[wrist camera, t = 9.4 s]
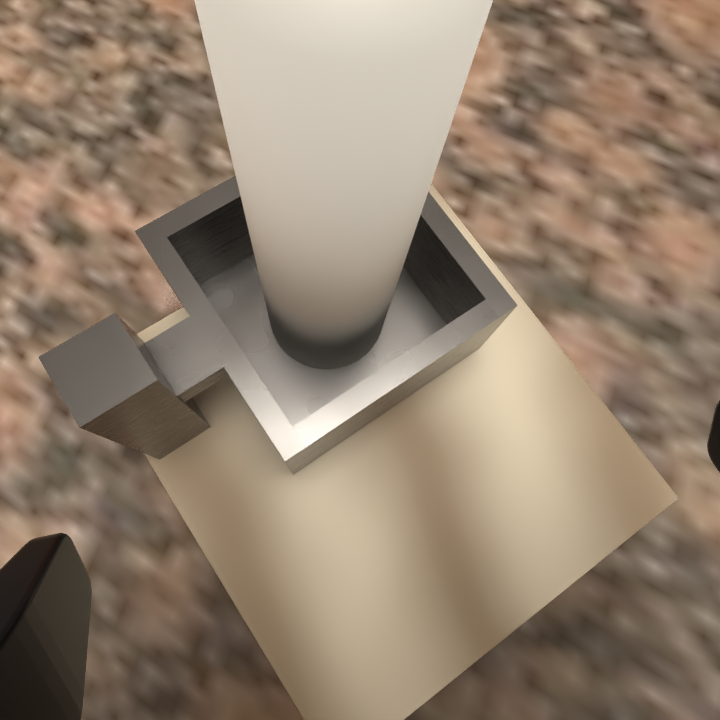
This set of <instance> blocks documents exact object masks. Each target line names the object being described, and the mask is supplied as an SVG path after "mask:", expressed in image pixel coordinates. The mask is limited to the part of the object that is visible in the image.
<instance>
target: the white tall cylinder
mask: <svg viewBox="0 0 720 720" xmlns="http://www.w3.org/2000/svg"><path fill="white" fill-rule="evenodd" d="M492 2H493V0H195V4H196V9H197V13H198V17H199V21H200V26H201V30H202V34H203V39H204V43H205V47H206V51H207V56H208V60H209V64H210V68H211V73H212V77H213V81H214V85H215V90H216V94H217V98H218V102H219V107H220V111H221V115H222V119H223V124H224V128H225V132H226V137H227V141H228V145H229V149H230V154H231V158H232V162H233V166H234V171H235V175H236V179H237V183H238V188H239V192H240V196H241V200H242V205H243V209H244V213H245V218H246V222H247V226H248V230H249V235H250V239H251V243H252V247H253V252H254V256H255V260H256V264H257V269H258V273H259V277H260V281H261V286H262V290H263V294H264V298H265V303H266V307H267V311H268V316H269V320H270V324H271V328H272V332H273V334H274V337H275V339H276V340H277V342H278V344H279V345H280V346H281V348H282V349H283V350H284V351H285V352H286V353H287V354H288V355H289V356H290V357H292V358H293V359H294V360H296V361H298V362H299V363H302V364H304V365H306V366H309V367H313V368H318V369H337V368H341V367H345V366H348V365H350V364H353V363H354V362H356V361H358V360H360V359H361V358H362V357H364V356H365V355H366V354H367V353H368V352H369V351H370V350H371V349H372V348H373V346H374V345H375V343H376V342H377V340H378V338H379V336H380V333H381V330H382V327H383V324H384V321H385V318H386V316H387V313H388V310H389V307H390V304H391V301H392V298H393V295H394V292H395V289H396V286H397V283H398V280H399V277H400V274H401V271H402V268H403V265H404V262H405V259H406V256H407V253H408V250H409V247H410V244H411V242H412V239H413V236H414V233H415V230H416V227H417V224H418V221H419V218H420V215H421V212H422V209H423V206H424V203H425V200H426V197H427V194H428V191H429V188H430V185H431V182H432V179H433V176H434V173H435V170H436V168H437V165H438V162H439V159H440V156H441V153H442V150H443V147H444V144H445V141H446V138H447V135H448V132H449V129H450V126H451V123H452V120H453V117H454V114H455V111H456V108H457V105H458V102H459V99H460V96H461V94H462V91H463V88H464V85H465V82H466V79H467V76H468V73H469V70H470V67H471V64H472V61H473V58H474V55H475V52H476V49H477V46H478V43H479V40H480V37H481V34H482V31H483V28H484V25H485V22H486V20H487V17H488V14H489V11H490V8H491V5H492Z"/></svg>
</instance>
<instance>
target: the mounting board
mask: <svg viewBox="0 0 720 720" xmlns="http://www.w3.org/2000/svg"><path fill="white" fill-rule="evenodd" d="M429 193H430V194H431V195H432V196H433V198H434V199H435V200H436V202H437V203H438V204H439V205H440V207H441V208H442V209H443V211H444V212H445V213H446V214H447V216H448V217H449V218H450V219H451V221H452V222H453V223H454V225H455V226H456V227H457V228H458V230H459V231H460V232H461V234H462V235H463V236H464V237H465V239H466V240H467V241H468V242H469V244H470V245H471V246H472V248H473V249H474V250H475V251H476V253H477V254H478V255H479V257H480V258H481V259H482V260H483V262H484V263H485V264H486V265H487V267H488V268H489V269H490V271H491V272H492V273H493V274H494V276H495V277H496V278H497V280H498V281H499V282H500V283H501V285H502V286H503V287H504V288H505V290H506V291H507V292H508V294H509V295H510V296H511V297H512V299H513V300H514V301H515V303H516V304H517V305H518V306H517V307H516V308H515V309H514V310H513V311H512V312H511V313H510V315H509V316H508V317H507V318H506V319H505V320H504V321H503V323H502V324H501V325H500V326H499V327H498V328H497V329H496V331H495V332H494V333H493V334H492V335H491V336H490V337H489V338H488V340H487V341H486V342H485V343H484V344H483V345H482V346H481V348H480V349H478V350H477V351H475V352H474V353H472V354H471V355H469V356H468V357H466V358H465V359H463V360H462V361H460V362H459V363H457V364H456V365H455V366H453V367H452V368H450V369H449V370H447V371H446V372H444V373H443V374H441V375H440V376H438V377H437V378H435V379H434V380H432V381H431V382H429V383H428V384H427V385H425V386H424V387H422V388H421V389H419V390H418V391H416V392H415V393H413V394H412V395H410V396H409V397H407V398H406V399H404V400H403V401H401V402H400V403H398V404H397V405H396V406H394V407H393V408H391V409H390V410H388V411H387V412H385V413H384V414H382V415H381V416H379V417H378V418H376V419H375V420H373V421H372V422H370V423H369V424H368V425H366V426H365V427H363V428H362V429H360V430H359V431H357V432H356V433H354V434H353V435H351V436H350V437H348V438H347V439H345V440H344V441H342V442H341V443H340V444H338V445H337V446H335V447H334V448H332V449H331V450H329V451H328V452H326V453H325V454H323V455H322V456H320V457H319V458H317V459H316V460H314V461H313V462H311V463H310V464H309V465H307V466H306V467H304V468H303V469H301V470H300V471H298V472H297V473H295V474H294V475H293V474H292V472H291V471H290V469H289V468H288V466H287V465H286V463H285V462H284V460H283V458H282V457H281V455H280V454H279V452H278V451H277V449H276V448H275V446H274V445H273V443H272V442H271V440H270V439H269V437H268V435H267V434H266V432H265V431H264V429H263V428H262V426H261V425H260V423H259V422H258V420H257V419H256V417H255V415H254V414H253V412H252V411H251V409H250V408H249V406H248V405H247V403H246V402H245V400H244V399H243V397H242V396H241V394H240V392H239V391H238V389H237V388H236V386H235V385H234V383H233V382H232V380H231V379H230V377H229V376H228V375H227V376H226V377H224V378H222V379H221V380H219V381H218V382H216V383H214V384H213V385H211V386H210V387H208V388H206V389H205V390H203V391H202V392H200V393H198V394H197V395H195V396H194V397H192V398H193V399H194V401H195V402H196V404H197V405H198V407H199V409H200V410H201V412H202V413H203V415H204V416H205V418H206V420H207V421H208V423H209V424H210V426H211V427H210V428H208V429H207V430H205V431H204V432H202V433H201V434H199V435H198V436H196V437H194V438H193V439H191V440H190V441H188V442H187V443H185V444H183V445H182V446H180V447H179V448H177V449H176V450H174V451H173V452H171V453H169V454H168V455H166V456H165V457H163V458H162V459H160V460H159V459H157V458H154V457H152V456H149V455H147V454H145V456H146V458H147V459H148V461H149V463H150V464H151V466H152V468H153V469H154V471H155V473H156V474H157V476H158V478H159V479H160V481H161V483H162V484H163V486H164V488H165V489H166V491H167V493H168V494H169V496H170V498H171V499H172V501H173V503H174V504H175V506H176V508H177V509H178V511H179V513H180V514H181V516H182V518H183V519H184V521H185V523H186V524H187V526H188V528H189V529H190V531H191V533H192V534H193V536H194V538H195V539H196V541H197V543H198V544H199V546H200V547H201V549H202V551H203V552H204V554H205V556H206V557H207V559H208V561H209V562H210V564H211V566H212V567H213V569H214V571H215V572H216V574H217V576H218V577H219V579H220V581H221V582H222V584H223V586H224V587H225V589H226V591H227V592H228V594H229V596H230V597H231V599H232V601H233V602H234V604H235V606H236V607H237V609H238V611H239V612H240V614H241V616H242V617H243V619H244V621H245V622H246V624H247V626H248V627H249V629H250V631H251V632H252V634H253V636H254V637H255V639H256V641H257V642H258V644H259V646H260V647H261V649H262V651H263V652H264V654H265V656H266V657H267V659H268V661H269V662H270V664H271V666H272V667H273V669H274V670H275V672H276V674H277V675H278V677H279V679H280V680H281V682H282V684H283V685H284V687H285V689H286V690H287V692H288V694H289V695H290V697H291V699H292V700H293V702H294V704H295V705H296V707H297V709H298V710H299V712H300V714H301V715H302V717H303V719H304V720H404V719H405V718H407V717H408V716H409V715H410V714H411V713H413V712H414V711H415V710H416V709H418V708H419V707H420V706H421V705H423V704H424V703H425V702H426V701H428V700H429V699H430V698H431V697H433V696H434V695H435V694H436V693H438V692H439V691H440V690H441V689H442V688H444V687H445V686H446V685H447V684H449V683H450V682H451V681H452V680H454V679H455V678H456V677H457V676H459V675H460V674H461V673H462V672H464V671H465V670H466V669H467V668H469V667H470V666H471V665H472V664H473V663H475V662H476V661H477V660H478V659H480V658H481V657H482V656H483V655H485V654H486V653H487V652H488V651H490V650H491V649H492V648H493V647H495V646H496V645H497V644H498V643H500V642H501V641H502V640H503V639H504V638H506V637H507V636H508V635H509V634H511V633H512V632H513V631H514V630H516V629H517V628H518V627H519V626H521V625H522V624H523V623H524V622H526V621H527V620H528V619H529V618H531V617H532V616H533V615H534V614H536V613H537V612H538V611H539V610H540V609H542V608H543V607H544V606H545V605H547V604H548V603H549V602H550V601H552V600H553V599H554V598H555V597H557V596H558V595H559V594H560V593H562V592H563V591H564V590H565V589H567V588H568V587H569V586H570V585H571V584H573V583H574V582H575V581H576V580H578V579H579V578H580V577H581V576H583V575H584V574H585V573H586V572H588V571H589V570H590V569H591V568H593V567H594V566H595V565H596V564H598V563H599V562H600V561H601V560H602V559H604V558H605V557H606V556H607V555H609V554H610V553H611V552H612V551H614V550H615V549H616V548H617V547H619V546H620V545H621V544H622V543H624V542H625V541H626V540H627V539H629V538H630V537H631V536H632V535H633V534H635V533H636V532H637V531H638V530H640V529H641V528H642V527H643V526H645V525H646V524H647V523H648V522H650V521H651V520H652V519H653V518H655V517H656V516H657V515H658V514H660V513H661V512H662V511H663V510H664V509H666V508H667V507H668V506H669V505H671V504H672V503H673V502H674V501H676V500H677V499H678V497H677V496H676V494H675V493H674V492H673V490H672V489H671V488H670V487H669V485H668V484H667V483H666V482H665V480H664V479H663V478H662V476H661V475H660V474H659V473H658V471H657V470H656V469H655V468H654V466H653V465H652V464H651V462H650V461H649V460H648V459H647V457H646V456H645V455H644V454H643V452H642V451H641V450H640V448H639V447H638V446H637V445H636V443H635V442H634V441H633V440H632V438H631V437H630V436H629V434H628V433H627V432H626V431H625V429H624V428H623V427H622V426H621V424H620V423H619V422H618V420H617V419H616V418H615V417H614V415H613V414H612V413H611V412H610V410H609V409H608V408H607V407H606V405H605V404H604V403H603V401H602V400H601V399H600V398H599V396H598V395H597V394H596V393H595V391H594V390H593V389H592V387H591V386H590V385H589V384H588V382H587V381H586V380H585V379H584V377H583V376H582V375H581V373H580V372H579V371H578V370H577V368H576V367H575V366H574V365H573V363H572V362H571V361H570V359H569V358H568V357H567V356H566V354H565V353H564V352H563V351H562V349H561V348H560V347H559V345H558V344H557V343H556V342H555V340H554V339H553V338H552V337H551V335H550V334H549V333H548V331H547V330H546V329H545V328H544V326H543V325H542V324H541V323H540V321H539V320H538V319H537V317H536V316H535V315H534V314H533V312H532V311H531V310H530V309H529V307H528V306H527V305H526V303H525V302H524V301H523V300H522V298H521V297H520V296H519V295H518V293H517V292H516V291H515V289H514V288H513V287H512V286H511V284H510V283H509V282H508V281H507V279H506V278H505V277H504V275H503V274H502V273H501V272H500V270H499V269H498V268H497V267H496V265H495V264H494V263H493V261H492V260H491V259H490V258H489V256H488V255H487V254H486V253H485V251H484V250H483V249H482V248H481V246H480V245H479V244H478V242H477V241H476V240H475V239H474V237H473V236H472V235H471V234H470V232H469V231H468V230H467V228H466V227H465V226H464V225H463V223H462V222H461V221H460V220H459V218H458V217H457V216H456V214H455V213H454V212H453V211H452V209H451V208H450V207H449V206H448V204H447V203H446V202H445V200H444V199H443V198H442V197H441V195H440V194H439V193H438V192H437V190H436V189H435V188H434V186H433V185H432V184H431V185H430V188H429ZM187 317H189V314H188V313H187V311H186V310H185V308H184V307H182V308H180V309H179V310H177V311H175V312H174V313H172V314H170V315H169V316H167V317H165V318H163V319H162V320H160V321H158V322H157V323H155V324H153V325H152V326H150V327H148V328H146V329H145V330H143V331H141V332H140V333H138V334H137V335H138V336H139V337H140V338H141V339H142V340H143V341H144V342H147V341H149V340H150V339H152V338H154V337H155V336H157V335H159V334H160V333H162V332H164V331H166V330H167V329H169V328H171V327H172V326H174V325H176V324H177V323H179V322H181V321H182V320H184V319H186V318H187Z"/></svg>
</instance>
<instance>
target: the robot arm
mask: <svg viewBox="0 0 720 720" xmlns="http://www.w3.org/2000/svg"><path fill="white" fill-rule="evenodd" d="M707 448H708V453H709V456H710V458H711V460H712V462H713V464H714V465H715V467H716V468H717V470H718V471H719V472H720V401H719V402H718V403H717V405H716V408H715V412H714V416H713V420H712V425H711V429H710V433H709V438H708V443H707ZM91 594H92V591H91V582H90V578H89V575H88V573H87V571H86V569H85V567H84V564H83V562H82V560H81V558H80V556H79V554H78V552H77V550H76V548H75V546H74V544H73V541H72V540H71V538H70V537H69V536H68V535H67V534H64V533H58V534H53V535H48V536H43V537H38V538H35V539H32V540H30V541H29V542H28V543H27V544H25V545H24V546H23V547H22V548H21V549H20V550H19V551H18V552H17V553H16V554H15V555H14V556H13V557H12V558H11V559H10V560H9V561H8V562H7V563H6V564H5V565H4V566H3V567H2V568H1V569H0V720H81V714H82V705H83V696H84V684H85V671H86V659H87V646H88V633H89V621H90V608H91Z"/></svg>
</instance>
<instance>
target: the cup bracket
mask: <svg viewBox="0 0 720 720" xmlns="http://www.w3.org/2000/svg"><path fill="white" fill-rule="evenodd" d="M135 232H136V234H137V235H138V237H139V238H140V240H141V241H142V243H143V245H144V246H145V248H146V249H147V251H148V252H149V254H150V255H151V257H152V259H153V260H154V262H155V263H156V265H157V266H158V268H159V269H160V271H161V273H162V274H163V276H164V277H165V279H166V280H167V282H168V283H169V285H170V287H171V288H172V290H173V291H174V293H175V294H176V296H177V297H178V299H179V300H180V302H181V303H182V305H183V307H184V308H185V310H186V311H187V313H188V314H189V317H187V318H186V319H184V320H182V321H181V322H179V323H177V324H176V325H174V326H172V327H171V328H169V329H167V330H166V331H164V332H162V333H160V334H159V335H157V336H155V337H154V338H152V339H150V340H149V341H147V342H144V341H143V340H142V339H141V338H140V337H139V336H138V335H137V334H136V333H135V332H134V331H133V330H132V329H131V328H130V327H129V326H128V325H127V324H126V323H125V322H124V321H123V320H122V319H121V318H120V317H119V316H118V315H117V314H116V313H114V314H112V315H111V316H109V317H107V318H105V319H104V320H102V321H100V322H98V323H97V324H95V325H93V326H91V327H90V328H88V329H86V330H84V331H83V332H81V333H79V334H78V335H76V336H74V337H72V338H71V339H69V340H67V341H65V342H64V343H62V344H60V345H58V346H57V347H55V348H53V349H52V350H50V351H48V352H46V353H45V354H43V355H41V356H39V359H40V361H41V362H42V364H43V366H44V368H45V369H46V371H47V373H48V374H49V376H50V378H51V380H52V381H53V383H54V385H55V386H56V388H57V390H58V392H59V393H60V395H61V397H62V398H63V400H64V402H65V404H66V405H67V407H68V409H69V410H70V412H71V414H72V416H73V417H74V419H75V421H76V422H77V424H78V426H79V428H82V429H84V430H87V431H89V432H92V433H94V434H97V435H99V436H102V437H104V438H107V439H109V440H112V441H114V442H117V443H119V444H122V445H124V446H127V447H129V448H132V449H134V450H137V451H139V452H142V453H144V454H147V455H149V456H152V457H154V458H157V459H159V460H160V459H162V458H163V457H165V456H166V455H168V454H169V453H171V452H173V451H174V450H176V449H177V448H179V447H180V446H182V445H183V444H185V443H187V442H188V441H190V440H191V439H193V438H194V437H196V436H198V435H199V434H201V433H202V432H204V431H205V430H207V429H208V428H210V427H211V426H210V424H209V423H208V421H207V420H206V418H205V416H204V415H203V413H202V412H201V410H200V409H199V407H198V405H197V404H196V402H195V401H194V399H193V398H192V397H194V396H195V395H197V394H198V393H200V392H202V391H203V390H205V389H206V388H208V387H210V386H211V385H213V384H214V383H216V382H218V381H219V380H221V379H222V378H224V377H226V376H227V375H228V376H229V377H230V379H231V380H232V382H233V383H234V385H235V386H236V388H237V389H238V391H239V392H240V394H241V396H242V397H243V399H244V400H245V402H246V403H247V405H248V406H249V408H250V409H251V411H252V412H253V414H254V415H255V417H256V419H257V420H258V422H259V423H260V425H261V426H262V428H263V429H264V431H265V432H266V434H267V435H268V437H269V439H270V440H271V442H272V443H273V445H274V446H275V448H276V449H277V451H278V452H279V454H280V455H281V457H282V458H283V460H284V462H285V463H286V465H287V466H288V468H289V469H290V471H291V472H292V474H293V475H294V474H295V473H297V472H298V471H300V470H301V469H303V468H304V467H306V466H307V465H309V464H310V463H311V462H313V461H314V460H316V459H317V458H319V457H320V456H322V455H323V454H325V453H326V452H328V451H329V450H331V449H332V448H334V447H335V446H337V445H338V444H340V443H341V442H342V441H344V440H345V439H347V438H348V437H350V436H351V435H353V434H354V433H356V432H357V431H359V430H360V429H362V428H363V427H365V426H366V425H368V424H369V423H370V422H372V421H373V420H375V419H376V418H378V417H379V416H381V415H382V414H384V413H385V412H387V411H388V410H390V409H391V408H393V407H394V406H396V405H397V404H398V403H400V402H401V401H403V400H404V399H406V398H407V397H409V396H410V395H412V394H413V393H415V392H416V391H418V390H419V389H421V388H422V387H424V386H425V385H427V384H428V383H429V382H431V381H432V380H434V379H435V378H437V377H438V376H440V375H441V374H443V373H444V372H446V371H447V370H449V369H450V368H452V367H453V366H455V365H456V364H457V363H459V362H460V361H462V360H463V359H465V358H466V357H468V356H469V355H471V354H472V353H474V352H475V351H477V350H478V349H480V348H481V346H482V345H483V344H484V343H485V342H486V341H487V340H488V338H489V337H490V336H491V335H492V334H493V333H494V332H495V331H496V329H497V328H498V327H499V326H500V325H501V324H502V323H503V321H504V320H505V319H506V318H507V317H508V316H509V315H510V313H511V312H512V311H513V310H514V309H515V308H516V307H517V306H518V305H517V304H516V303H515V301H514V300H513V299H512V297H511V296H510V295H509V294H508V292H507V291H506V290H505V288H504V287H503V286H502V285H501V283H500V282H499V281H498V280H497V278H496V277H495V276H494V274H493V273H492V272H491V271H490V269H489V268H488V267H487V265H486V264H485V263H484V262H483V260H482V259H481V258H480V257H479V255H478V254H477V253H476V251H475V250H474V249H473V248H472V246H471V245H470V244H469V242H468V241H467V240H466V239H465V237H464V236H463V235H462V234H461V232H460V231H459V230H458V228H457V227H456V226H455V225H454V223H453V222H452V221H451V219H450V218H449V217H448V216H447V214H446V213H445V212H444V211H443V209H442V208H441V207H440V205H439V204H438V203H437V202H436V200H435V199H434V198H433V196H432V195H431V194H430V193H429V191H428V194H427V197H426V200H425V203H424V206H423V209H422V212H421V215H420V218H419V221H418V224H417V227H416V230H415V233H414V236H413V239H412V242H411V244H410V247H409V250H408V253H407V256H406V259H405V262H404V265H403V268H402V271H401V274H400V277H399V280H398V283H397V286H396V289H395V292H394V295H393V298H392V301H391V304H390V307H389V310H388V313H387V316H386V318H385V321H384V324H383V327H382V330H381V333H380V336H379V338H378V340H377V342H376V343H375V345H374V346H373V348H372V349H371V350H370V351H369V352H368V353H367V354H366V355H365V356H364V357H362V358H361V359H360V360H358V361H356V362H354V363H353V364H350V365H348V366H345V367H341V368H337V369H318V368H313V367H309V366H306V365H304V364H302V363H299V362H298V361H296V360H294V359H293V358H292V357H290V356H289V355H288V354H287V353H286V352H285V351H284V350H283V349H282V348H281V346H280V345H279V344H278V342H277V340H276V339H275V337H274V334H273V332H272V328H271V324H270V320H269V316H268V311H267V307H266V303H265V298H264V294H263V290H262V286H261V281H260V277H259V273H258V269H257V264H256V260H255V256H254V252H253V247H252V243H251V239H250V235H249V230H248V226H247V222H246V218H245V213H244V209H243V205H242V200H241V196H240V192H239V188H238V183H237V179H236V176H234V177H232V178H230V179H229V180H227V181H225V182H223V183H221V184H219V185H218V186H216V187H214V188H212V189H210V190H209V191H207V192H205V193H203V194H201V195H200V196H198V197H196V198H194V199H192V200H190V201H189V202H187V203H185V204H183V205H181V206H180V207H178V208H176V209H174V210H172V211H170V212H169V213H167V214H165V215H163V216H161V217H160V218H158V219H156V220H154V221H152V222H151V223H149V224H147V225H145V226H143V227H141V228H140V229H138V230H136V231H135Z"/></svg>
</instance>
